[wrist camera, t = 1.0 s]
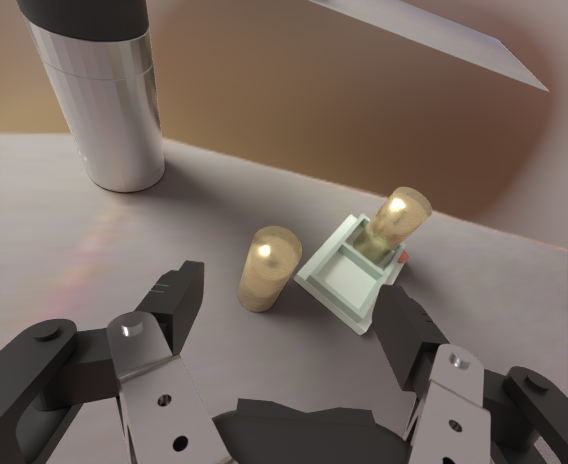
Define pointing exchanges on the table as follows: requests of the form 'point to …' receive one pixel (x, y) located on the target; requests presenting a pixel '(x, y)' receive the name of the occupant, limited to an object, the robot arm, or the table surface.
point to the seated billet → (392, 224)
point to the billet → (268, 267)
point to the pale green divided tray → (349, 275)
